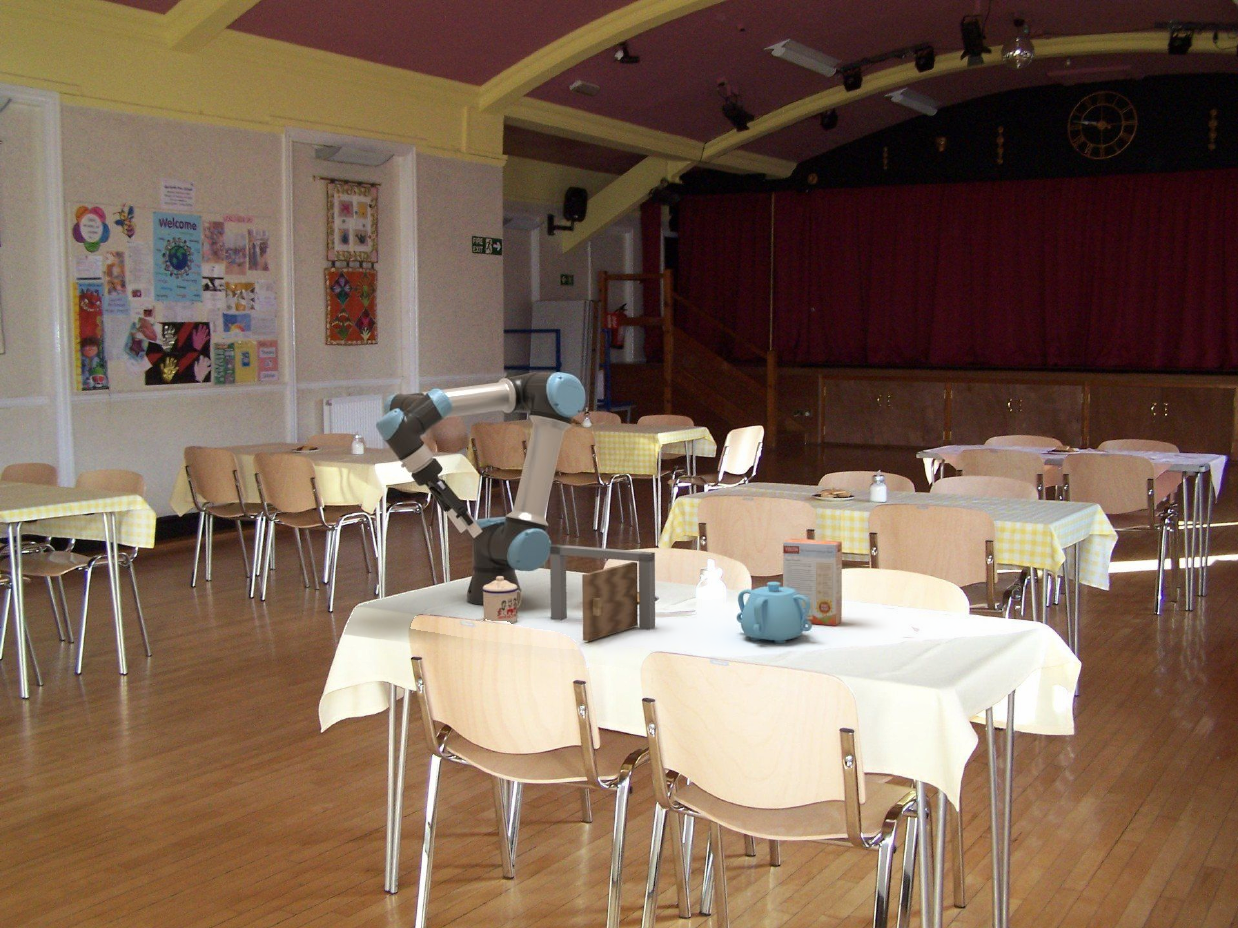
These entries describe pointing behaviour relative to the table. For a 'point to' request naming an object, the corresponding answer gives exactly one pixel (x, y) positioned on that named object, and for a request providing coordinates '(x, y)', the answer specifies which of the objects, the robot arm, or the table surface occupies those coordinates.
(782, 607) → the decorative pot
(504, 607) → the teacup with lid
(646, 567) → the door frame
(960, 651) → the table surface
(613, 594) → the door
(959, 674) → the table surface
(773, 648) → the table surface
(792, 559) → the cracker box
